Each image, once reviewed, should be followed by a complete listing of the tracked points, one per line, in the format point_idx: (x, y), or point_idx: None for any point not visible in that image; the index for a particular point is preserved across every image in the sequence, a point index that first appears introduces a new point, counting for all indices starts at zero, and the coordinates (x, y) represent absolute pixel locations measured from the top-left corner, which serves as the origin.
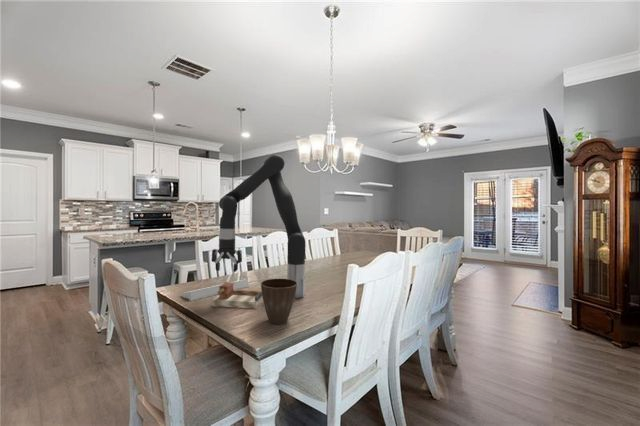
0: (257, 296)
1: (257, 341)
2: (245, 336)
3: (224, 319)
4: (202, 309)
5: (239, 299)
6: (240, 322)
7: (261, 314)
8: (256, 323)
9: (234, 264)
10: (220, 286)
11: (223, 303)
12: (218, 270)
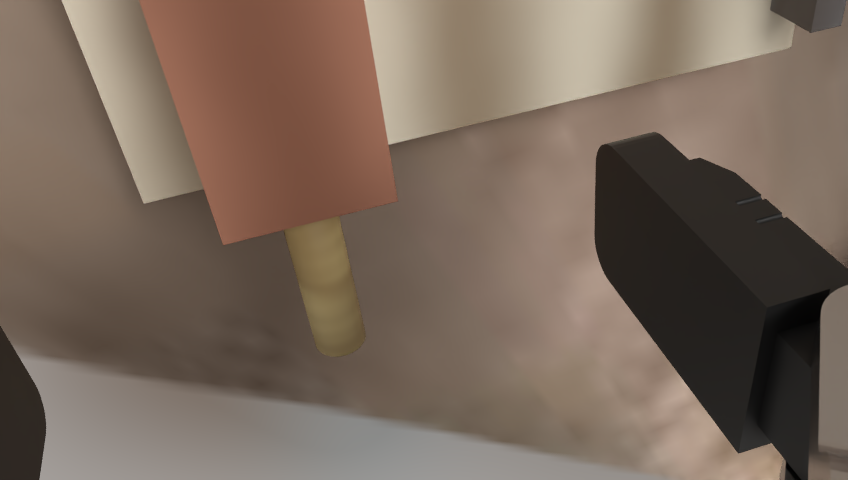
0: (844, 4)
1: None
2: (757, 467)
3: (519, 363)
4: (121, 284)
5: (534, 33)
6: None
7: (818, 144)
8: None
9: (766, 441)
10: (245, 235)
11: None
12: (23, 378)
